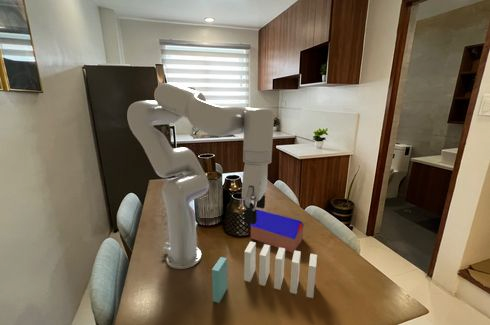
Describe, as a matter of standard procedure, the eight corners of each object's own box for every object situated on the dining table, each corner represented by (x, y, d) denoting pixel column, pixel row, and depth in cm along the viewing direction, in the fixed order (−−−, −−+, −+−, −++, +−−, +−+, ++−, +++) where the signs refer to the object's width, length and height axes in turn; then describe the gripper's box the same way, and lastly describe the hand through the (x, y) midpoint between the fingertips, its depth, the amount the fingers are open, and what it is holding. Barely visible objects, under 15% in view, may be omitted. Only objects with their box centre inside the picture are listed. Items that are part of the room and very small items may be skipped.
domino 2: (244, 280, 78) (244, 251, 75) (250, 268, 83) (250, 241, 80) (250, 282, 77) (250, 252, 74) (255, 270, 82) (255, 242, 80)
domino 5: (289, 292, 73) (291, 261, 70) (292, 279, 78) (294, 250, 76) (296, 294, 72) (298, 263, 69) (298, 280, 78) (300, 251, 75)
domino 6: (306, 296, 71) (308, 265, 69) (308, 282, 77) (310, 253, 74) (313, 298, 71) (316, 267, 68) (314, 284, 76) (317, 254, 73)
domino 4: (274, 288, 74) (275, 258, 72) (277, 275, 80) (279, 247, 77) (280, 289, 74) (281, 259, 71) (283, 276, 79) (285, 248, 77)
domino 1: (213, 301, 69) (211, 269, 67) (221, 286, 75) (220, 256, 72) (219, 303, 69) (218, 271, 66) (227, 288, 74) (226, 258, 72)
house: (262, 227, 111) (262, 204, 109) (303, 239, 101) (305, 215, 99) (249, 239, 101) (249, 214, 99) (293, 254, 91) (295, 227, 89)
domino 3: (258, 284, 76) (259, 254, 73) (263, 272, 82) (264, 244, 79) (264, 285, 75) (265, 256, 73) (269, 273, 81) (270, 245, 78)
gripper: (252, 148, 71) (250, 200, 75) (232, 162, 55) (231, 227, 59) (277, 150, 69) (273, 204, 73) (263, 165, 53) (260, 233, 57)
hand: (255, 214), depth 66 cm, fingers open, 9 cm apart
